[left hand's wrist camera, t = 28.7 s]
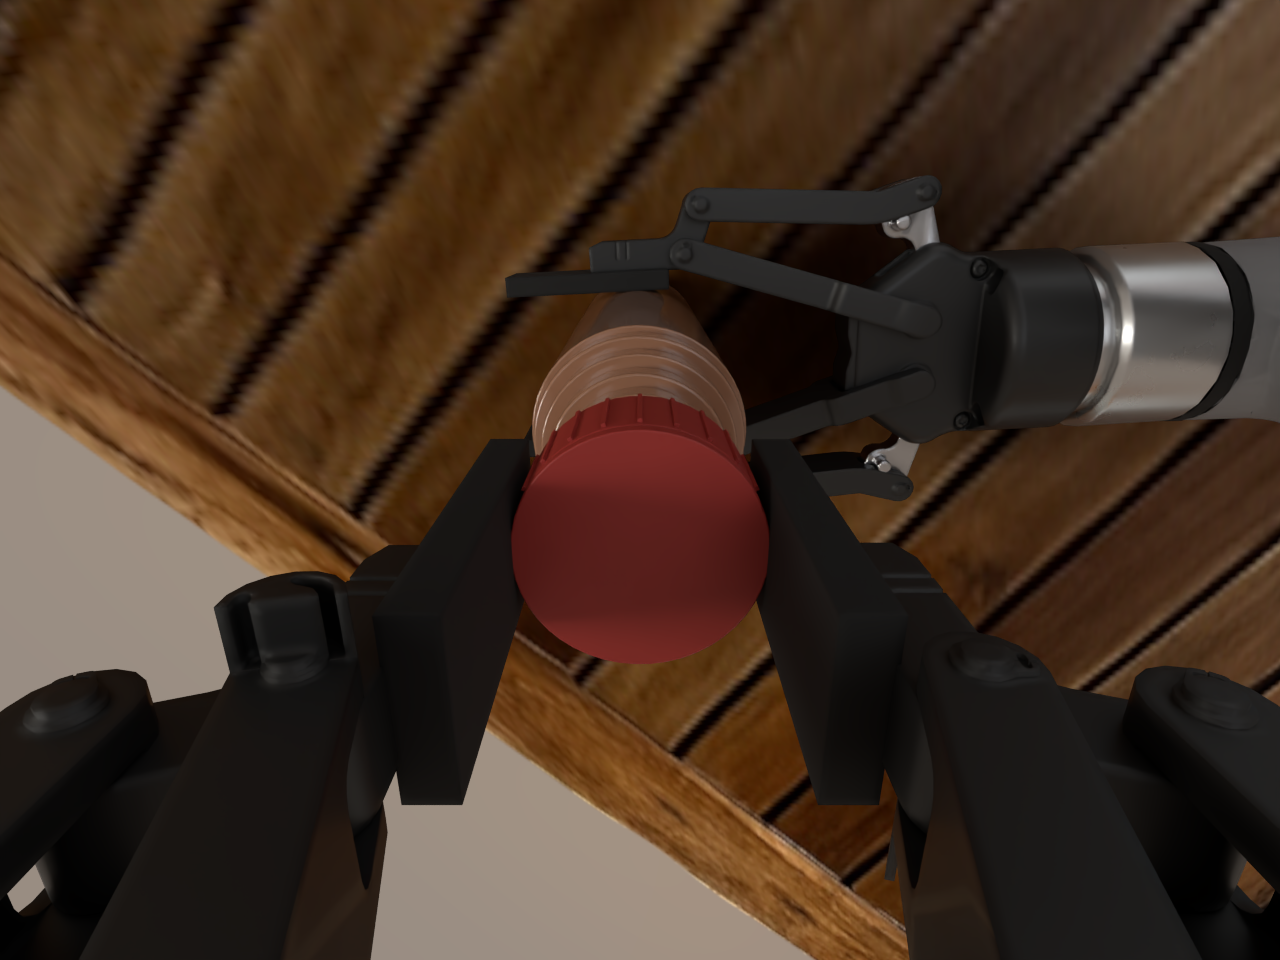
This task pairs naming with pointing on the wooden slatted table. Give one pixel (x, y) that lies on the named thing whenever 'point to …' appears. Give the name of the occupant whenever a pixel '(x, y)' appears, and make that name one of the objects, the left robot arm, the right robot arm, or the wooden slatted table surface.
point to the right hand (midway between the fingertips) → (521, 365)
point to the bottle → (638, 363)
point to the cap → (640, 532)
